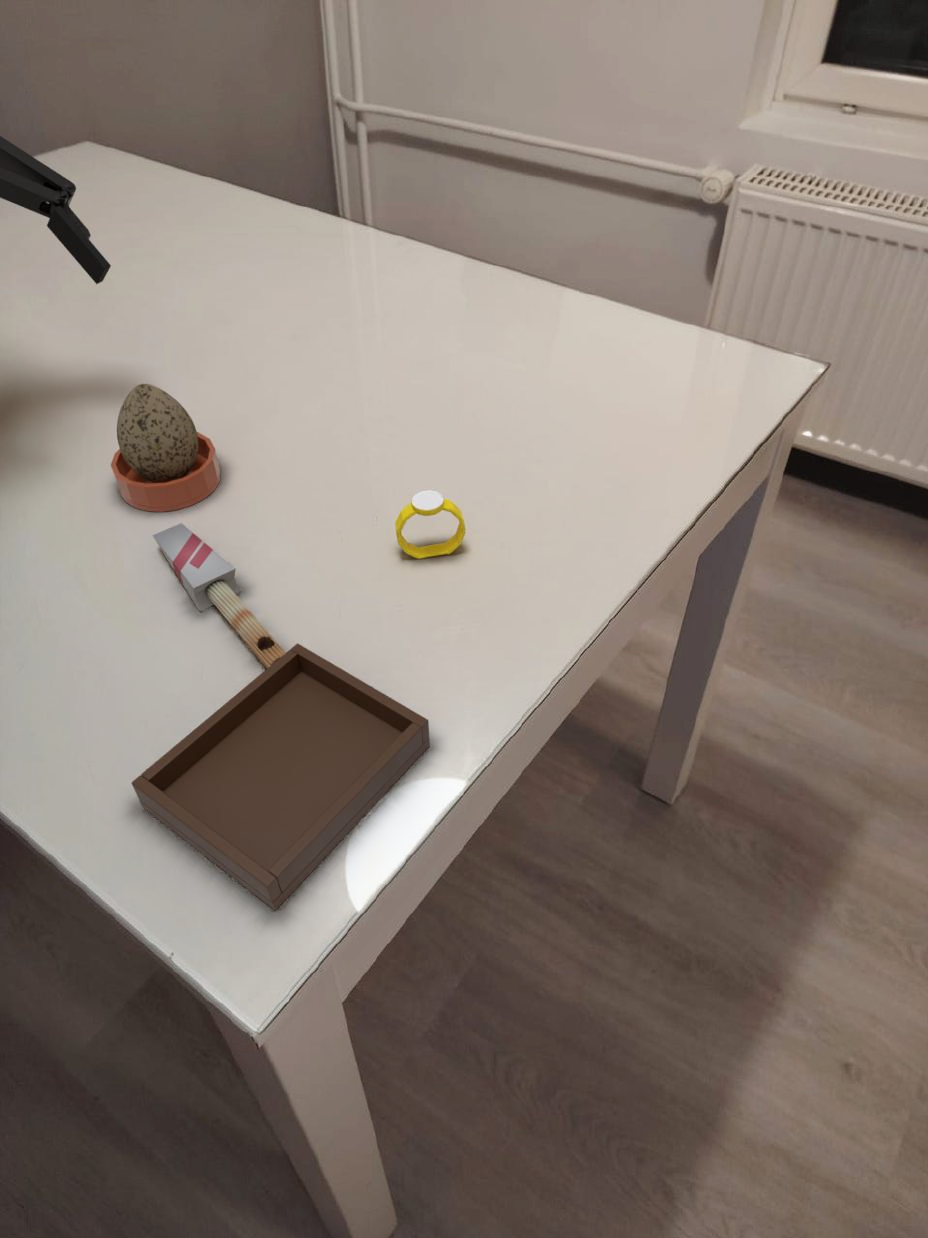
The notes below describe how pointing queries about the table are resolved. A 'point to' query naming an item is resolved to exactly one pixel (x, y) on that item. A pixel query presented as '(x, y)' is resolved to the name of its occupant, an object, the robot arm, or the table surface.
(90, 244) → the robot arm
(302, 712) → the tray
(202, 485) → the shallow dish
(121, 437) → the decorative egg
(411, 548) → the watch
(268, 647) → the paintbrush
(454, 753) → the table surface
